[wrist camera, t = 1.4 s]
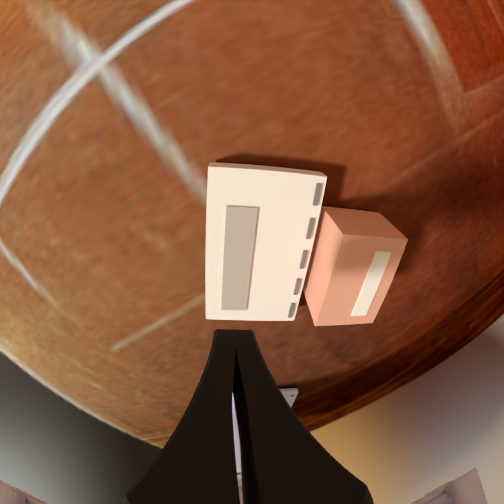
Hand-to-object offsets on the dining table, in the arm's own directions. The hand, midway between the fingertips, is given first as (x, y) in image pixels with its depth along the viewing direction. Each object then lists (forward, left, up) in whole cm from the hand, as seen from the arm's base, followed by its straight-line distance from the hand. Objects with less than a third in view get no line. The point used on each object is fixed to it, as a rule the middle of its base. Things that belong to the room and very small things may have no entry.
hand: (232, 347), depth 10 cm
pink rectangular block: (0, -7, -8) cm, 10 cm away
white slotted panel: (0, -2, -8) cm, 8 cm away
